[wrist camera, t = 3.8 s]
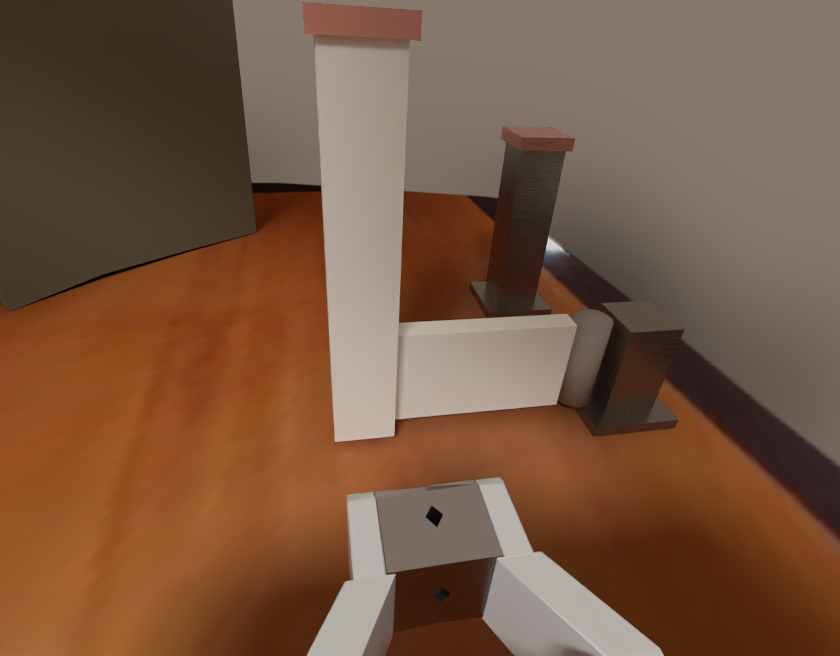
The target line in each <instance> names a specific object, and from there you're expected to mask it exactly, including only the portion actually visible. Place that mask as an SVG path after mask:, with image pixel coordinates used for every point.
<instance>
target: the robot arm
mask: <svg viewBox="0 0 840 656" xmlns="http://www.w3.org/2000/svg"><path fill="white" fill-rule="evenodd" d="M347 529H348V553H349V569H350V580H349V581H345V582H344V584H343V586H342V588H341V590H340V592H339V594H338V596H337V598H336V600H335V601H334V603H333V605H332V607H331V609H330V611H329V613H328V615H327V617H326V619H325V621H324V623H323V625H322V627H321V629H320V630H319V632H318V634H317V636H316V638H315V640H314V642H313V644H312V646H311V648H310V650H309V652H308V654H307V656H386V653H387V651H388V648H389V645H390V642H391V639H392V637H393V632H396V631H400V630H405V629H410V628H415V627H420V626H425V625H429V624H434V623H440V622H447V621H454V620H460V619H467V618H474V617H481V616H483V620H484V621H485V622H486V623H487V625H488V626H489V627H490V628H491V629H492V630H493V632H494V633H495V634H496V635H497V636H498V637H499V639H500V640H501V641H502V642H503V643H504V644H505V646H506V647H507V648H508V649H509V650H510V651H511V653H512V654H513V655H514V656H664V655H663V653H662V651H661V649H660V648H659V647H658V646H657V645H655V644H654V643H653V642H652V641H651V640H649V639H648V638H647V637H646V636H644V635H643V634H642V633H641V632H639V631H638V630H637V629H636V628H635V627H633V626H632V625H631V624H630V623H628V622H627V621H626V620H625V619H624V618H622V617H621V616H620V615H619V614H617V613H616V612H615V611H614V610H613V609H611V608H610V607H609V606H608V605H606V604H605V603H604V602H603V601H602V600H600V599H599V598H598V597H597V596H595V595H594V594H593V593H592V592H591V591H589V590H588V589H587V588H586V587H584V586H583V585H582V584H581V583H580V582H578V581H577V580H576V579H575V578H573V577H572V576H571V575H570V574H569V573H567V572H566V571H565V570H564V569H562V568H561V567H560V566H559V565H557V564H556V563H555V562H554V561H553V560H551V559H550V558H549V557H548V556H546V555H545V554H544V553H543V552H542V551H539V552H533V549H532V547H531V545H530V542H529V540H528V538H527V535H526V533H525V531H524V528H523V526H522V524H521V521H520V519H519V517H518V514H517V512H516V510H515V507H514V505H513V503H512V500H511V498H510V496H509V493H508V491H507V489H506V486H505V484H504V482H503V480H502V479H501V478H500V477H495V478H487V479H480V480H474V481H473V480H467V481H459V482H452V483H444V484H437V485H430V486H424V487H422V488H411V489H400V490H390V491H379V492H374V493H373V492H369V493H360V494H351V495H347Z"/></svg>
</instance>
